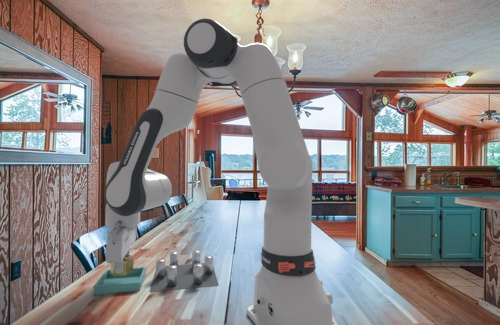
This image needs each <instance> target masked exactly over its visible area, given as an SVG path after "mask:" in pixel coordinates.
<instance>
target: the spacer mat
mask: <svg viewBox="0 0 500 325" xmlns="http://www.w3.org/2000/svg"><path fill="white" fill-rule="evenodd" d="M200 263H201V262H200ZM201 264H203V283H202V284H200V285H194V284H193V268H192V263H191V264H189V263H188V264H178V269H177V286H175V287H167V267H168V266H169V265H165V278H163V279H156V270H155V271H154V275H153V278H152V281H151V284H150V285H151V286H150V288H149V293H154V292H166V291H177V290H178V291H179V290H188V289H196V288H197V289H199V288H200V289H201V288H209V287H218V286H220V285H219V282H218V278H217V275H216V271H215V268H214V266H213V274H212V275H205V274H204V262H203V263H201Z"/></svg>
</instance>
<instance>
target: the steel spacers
mask: <svg viewBox="0 0 500 325" xmlns="http://www.w3.org/2000/svg"><path fill="white" fill-rule="evenodd" d="M191 254H192V255H191V256H192V257H191V259H192V261H191V264H192V268H193V284H194V285H200V284H202V283H203V264H201V250H198V249H196V250H192V252H191ZM166 262H167V261H166V259H165V258H158V259H156V261H155V271H156V279H163V278H165V266H166ZM203 263H204V274H205V275H212V274H213V267H214V256H213V255H206V256H204V262H203ZM178 265H179V252H178V251H171V252H169V265H167V266H168V267H167V287H175V286H177V269H178Z"/></svg>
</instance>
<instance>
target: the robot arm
mask: <svg viewBox="0 0 500 325" xmlns="http://www.w3.org/2000/svg"><path fill="white" fill-rule="evenodd" d="M238 42H239V40H238V38H237V36H235V35H234V34H233V33H232V32H231V31H230V30H228V29H227V27H225V26H223V25H222V24H221V23H219V22H218V21H216V20H213V19H211V18H200V19H197V20H195V21H193V22H192V23H191V24H190V25H189V26H188V27H187V29H186V31H185V34H184V37H183V48H184V51H185V53H183V52H178V53H174V54H172V55H170V56H169V58H168V59H167V61H166V63H165V65H164V67H163V70H162V72H161V74H160V77H159V79H158V82H157V85H156V88H155V89H156V90H154V91H155V92H154V95H153V97H152V100H151V102H150V104H149V106H148V107H147V109H146V110H144V112H142V114H141V115H140V116H139V118H138V119H137V121H136V124H135V126H134V127H133V130H132V132H131V134H130V137H129V140H128V142H127V144H126V146H125V149H124V151H123V153H122V156H121V159H120V160H117V161H114V162H112V163H110V165H108V169H107V173H106V182H105V187H104V188H105V190H104V199H105V203H106V205H105V210H104V211H105V214H104V215H105V219H104V220H105V222H104V225H105V226H106V227H108V228H110V229H109V231H108V232H107V236H106V243H105V244H106V246H105V261H106V263H107V264H111V263H114V265H115V273H122V272H123V270H124V264H123V259H124V257H125V255H130V252H131V248H132V246H133V245H134V243H135V242H136V238H137V234H138V225H140V223H141V212H143V211H147V210H151V209H154V208H157V207H162V206H163V205H166V204H167V203H168V202H169V201H170V200H171V198H172V195H173V188H174V187H173V184H172V181H171V179H170V178H169V177H168V176H167V175H166V174H165V173H160V172H157V171H155V170H152V169H149V168H148V167H149V165H150V162H151V160H152V158H153V155H154V152H155V150H156V148H157V146H158V144H160V142H161V141H162V140H163V139H164V138H166V137H167V136H169V135H171V134H173V133H176V132H180V131H183V130H184V129H185V128H187V127H189V125H190V124H191V122H192V120H193V119H194V117H195V114H196V111H197V107H198V103H199V100H200V96H201V93H202V90H203V88H204V87H205V86H206V85H207V84H208V85H209V86H210V87H233V86H236V85H237V87H238V89H239V92H240V96H241V99H242V102H243V105H244V108H245V112H246V116H247V118H248V121H249V125H250V128H251V129H250V130H251V133H252V140H253V146H254V151H255V155H256V159H257V163H258V171H259V174H260V177H261V179H262V180H263V181H264V182H265V184H266V185H267V192H266V199H265V206H264V212H263V213H264V214H263V246H261V252H260V258H261V260H260V262H261V267H260V269H259V271H258V272H256V274H255V276H254V279H255V280H254V287H253V288H254V289H253V290H254V291H253V304H251V305H249V306H248V307H247V308H246V315H247V316H248V317H249V318H250V320H252V322H253V324H254V325H339V324H338V322H337V321H336V319H335V317H334V316H333V311H332V305H333V302H334V301H333V294H332V293H331V292H325V289H324V287H323V284H324V283H323V281H322V280H321V279H320V278H319V277H318V274H317V273H316V268H317V265H316V264H317V263H316V261H315V260H316V259H315V255H314V250H313V249H312V208H313V207H312V206H313V161H312V157H311V155H310V153H309V150H308V148H307V144H306V142H305V138H304V135H303V133H302V132H303V131H302V129H301V126H300V123H299V120H298V116H297V113H296V110H295V107H294V104H293V101H292V98H291V95H290V91H289V88H288V85H287V82H286V80H285V77H284V74H283V72H282V69H281V68H280V65H279V63H278V61H277V59H276V57H275V55H274V53H273V52H272V50H271V49H270V47H269V46H267V45H266V44H264V43H260V42H254V43H250V44H247V45H240V44H239V43H238Z"/></svg>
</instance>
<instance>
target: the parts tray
mask: <svg viewBox="0 0 500 325" xmlns="http://www.w3.org/2000/svg"><path fill="white" fill-rule="evenodd" d="M146 275H147V267H146V266H141V267H140V266H139V267H133V272H132V273H130V274H128V275H126V276H115V277H114V276H113V275H112V274H111V269H106V270H105V271H104V272H103V273H102V275H101V276H100V277H99V279H98V280H97V281H96V283H95V284H94V285H93V297H99V296H100V297H101V296H104V295H106V294H108V295H109V294H118V293H128V292H139V291H141V289H142V287H143V283H144V281H145V278H146Z"/></svg>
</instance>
